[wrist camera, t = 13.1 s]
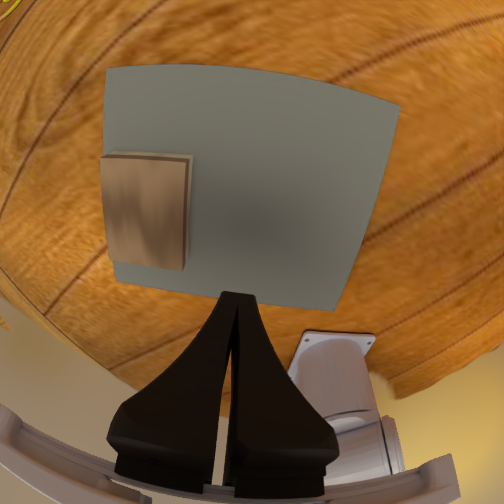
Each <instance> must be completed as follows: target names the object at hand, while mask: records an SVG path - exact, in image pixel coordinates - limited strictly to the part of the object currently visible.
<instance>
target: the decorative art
mask: <svg viewBox="0 0 504 504" xmlns="http://www.w3.org/2000/svg"><path fill="white" fill-rule="evenodd" d="M1 1H2V0H0V3H1ZM3 1H4V2H5V3H7V2H10V1H11V0H3ZM21 1H22V0H17V1H16V3H15V4H14V5H13V6H12V7H11V8H10V9H9V10H8V11H7V12H6V13H5V14H4V15H2V16H1V17H0V21H2V20H3V19H4V18H5V17H7V16H8V15H9V14H10V13H11V12H12V11H13V10H14V9H15V8H16V7H17V6H18V5H19V3H20V2H21Z"/></svg>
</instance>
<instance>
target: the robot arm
mask: <svg viewBox="0 0 504 504" xmlns="http://www.w3.org/2000/svg"><path fill="white" fill-rule="evenodd" d="M375 339H376V338H375V335H372V334H348V333H331V332H316V331H306V332H305V333H304V334H303V336H302V338H301V341H300V343H299V346H298V348H297V350H296V353H295V355H294V358H293V360H292V362H291V365H290V367H289V369H288V372H286V370H285V369H284V367H283V365H282V364H281V362H280V360H279V358H278V356H277V354H276V353H275V351H274V348H273V346H272V344H271V342H270V340H269V338H268V335H267V333H266V330H265V328H264V325H263V322H262V320H261V316H260V313H259V310H258V306H257V301H256V297H255V296H254V295H253V294H245V293H237V292H230V291H223V292H221V294H220V297H219V299H218V302H217V304H216V306H215V308H214V309H213V311H212V313H211V315H210V316H209V318H208V319H207V321H206V323H205V324H204V326H203V327H202V329H201V330H200V331H199V333H198V334H197V335H196V337H195V338H194V339H193V341H192V342H191V343H190V344H189V346H188V347H187V348H186V349H185V350H184V351H183V353H182V354H181V355H180V356H179V357H178V358H177V359H176V360H175V361H174V362H173V363H172V364H171V365H170V366H169V367H168V368H167V369H166V370H165V371H164V372H163V373H162V374H160V375H159V376H158V377H157V378H156V379H154V380H153V381H152V382H151V383H150V384H148V385H147V386H146V387H145V388H143V389H142V390H141V391H139V392H138V393H136V394H135V395H133V396H132V397H130V398H129V399H127V400H126V401H124V402H123V403H122V404H121V405H120V407H119V408H118V410H117V412H116V414H115V415H114V417H113V420H112V422H111V424H110V428H109V431H108V435H107V438H106V439H107V441H108V443H109V444H110V445H111V446H112V447H113V448H114V450H115V451H116V452H117V453H118V456H117V460H116V463H113V462H110V461H108V460H104V459H102V458H99V457H96V456H94V455H91V454H88V453H86V452H84V451H81V450H79V449H77V448H74V447H72V446H70V445H67V444H65V443H63V442H61V441H59V440H57V439H55V438H53V437H50V436H49V435H47V434H45V433H43V432H41V431H39V430H37V429H35V428H34V427H32V426H30V425H28V424H26V423H25V422H23V421H22V420H21V419H20V417H19V416H17V415H16V414H15V413H14V412H12V411H11V410H10V409H8V408H6V407H5V406H3V405H2V404H0V464H1V465H2V466H3V467H5V468H6V469H7V470H9V471H10V472H11V473H12V474H14V475H15V476H17V477H18V478H19V479H21V480H22V481H24V482H25V483H26V484H28V485H29V486H31V487H32V488H34V489H35V490H37V491H39V492H40V493H42V494H44V495H45V496H47V497H48V498H50V499H52V500H53V501H55V502H57V503H59V504H152V498H151V497H148V496H146V495H143V494H141V493H140V492H139V491H136V490H134V489H131V488H128V487H125V486H122V485H120V484H117V483H114V482H112V481H111V479H113V480H116V481H119V482H122V483H125V484H128V485H132V486H135V487H139V488H142V489H146V490H150V491H154V492H158V493H162V494H167V495H172V496H177V497H182V498H188V499H195V500H201V501H209V502H218V503H227V504H450V503H452V502H454V501H456V500H458V499H460V497H461V495H460V490H459V485H458V480H457V476H456V471H455V467H454V463H453V459H452V455H451V454H450V453H449V454H447V455H444V456H441V457H439V458H435V459H433V460H430V461H428V462H426V463H424V464H422V465H421V466H420V467H418V468H415V469H411V470H407V471H405V465H404V460H403V455H402V450H401V445H400V441H399V437H398V433H397V428H396V424H395V421H394V419H393V418H391V417H389V416H388V415H386V416H384V417H382V420H381V418H380V415H379V412H378V409H377V405H376V401H375V397H374V393H373V389H372V385H371V381H370V378H369V374H368V370H367V366H366V363H365V359H364V356H365V355H366V353H367V352H368V350H369V349H370V347H371V346H372V344H373V343H374V341H375ZM230 352H231V405H230V415H229V425H228V435H227V445H226V455H225V465H224V474H223V483H222V486H219V485H211V483H212V475H213V468H214V460H215V451H216V441H217V432H218V422H219V413H220V404H221V395H222V388H223V384H224V379H225V375H226V370H227V365H228V361H229V356H230ZM109 478H110V479H109Z"/></svg>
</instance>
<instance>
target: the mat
mask: <svg viewBox="0 0 504 504" xmlns="http://www.w3.org/2000/svg"><path fill="white" fill-rule="evenodd" d="M400 107H401V106H399V105H396V104H394V103H391V102H388V101H385V100H382V99H380V98H377V97H374V96H371V95H368V94H364V93H361V92H358V91H355V90H351V89H348V88H344V87H341V86H337V85H333V84H329V83H325V82H321V81H317V80H312V79H308V78H303V77H298V76H293V75H287V74H282V73H276V72H269V71H263V70H255V69H247V68H238V67H227V66H213V65H187V64H165V65H140V66H126V67H116V68H107V72H106V82H105V95H104V114H103V156H105V155H107V154H109V153H111V152H113V151H132V152H154V153H169V154H183V155H193V166H192V180H191V197H190V218H189V250H188V259H187V261H186V264H185V266H184V269H183V272H182V271H175V270H168V269H162V268H155V267H149V266H143V265H137V264H131V263H125V262H119V261H113V260H112V261H113V267H114V273H115V278H116V281H118V282H123V283H129V284H134V285H139V286H145V287H151V288H156V289H162V290H168V291H174V292H181V293H187V294H193V295H200V296H207V297H214V298H219V297H220V294H221V292H223V291H230V292H237V293H245V294H253V295H254V296H255V297H256V301H257V303H259V304H267V305H276V306H285V307H294V308H304V309H314V310H325V311H335V308H336V306H337V304H338V301H339V299H340V297H341V294H342V292H343V290H344V287H345V285H346V282H347V280H348V277H349V275H350V272H351V270H352V267H353V265H354V262H355V259H356V257H357V254H358V251H359V249H360V246H361V243H362V241H363V238H364V235H365V232H366V229H367V226H368V223H369V220H370V217H371V214H372V211H373V208H374V205H375V202H376V199H377V196H378V193H379V189H380V186H381V183H382V179H383V176H384V172H385V169H386V165H387V161H388V158H389V154H390V150H391V146H392V142H393V138H394V134H395V130H396V126H397V121H398V117H399V112H400Z"/></svg>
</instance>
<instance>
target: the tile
mask: <svg viewBox="0 0 504 504" xmlns="http://www.w3.org/2000/svg"><path fill="white" fill-rule="evenodd" d="M192 166H193V155H183V154H169V153H154V152H132V151H113V152H111V153H109V154H107V155H105V156H103V157H101V158H100V173H101V190H102V202H103V213H104V222H105V231H106V238H107V246H108V252H109V259H110V260H113V261H119V262H125V263H131V264H137V265H143V266H149V267H155V268H162V269H168V270H175V271H182V272H183V269H184V266H185V264H186V261H187V259H188V250H189V218H190V197H191V180H192Z"/></svg>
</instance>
